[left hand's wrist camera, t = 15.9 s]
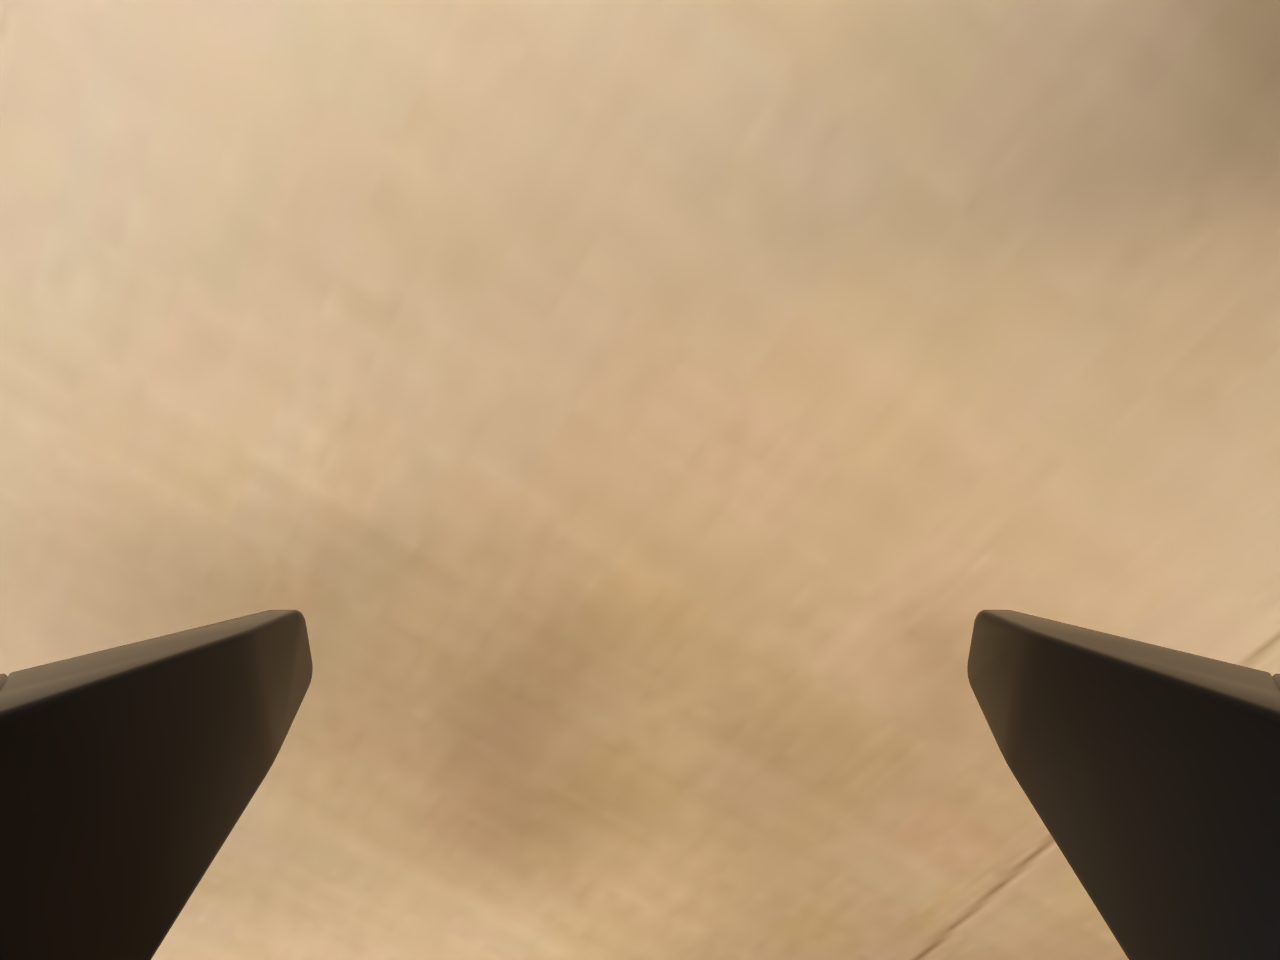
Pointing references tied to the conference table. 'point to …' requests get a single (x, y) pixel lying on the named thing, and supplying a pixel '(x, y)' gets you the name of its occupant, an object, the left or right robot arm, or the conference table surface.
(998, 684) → the left robot arm
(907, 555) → the conference table surface
